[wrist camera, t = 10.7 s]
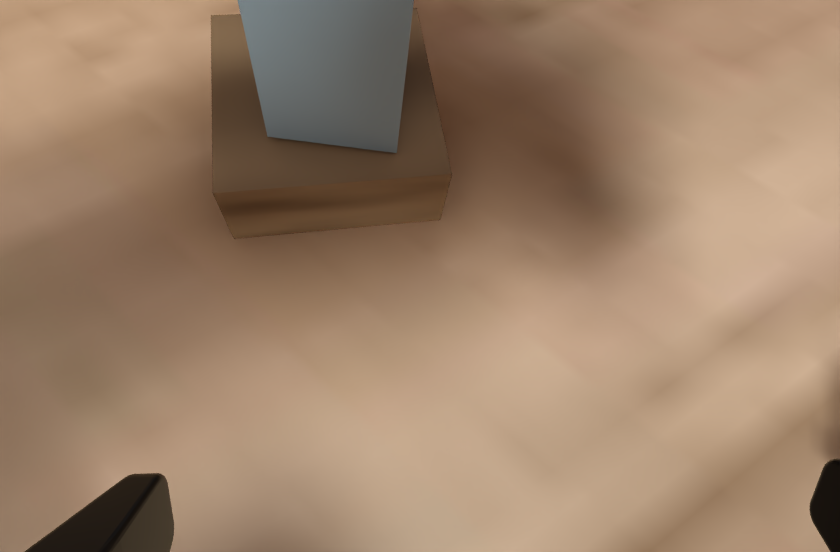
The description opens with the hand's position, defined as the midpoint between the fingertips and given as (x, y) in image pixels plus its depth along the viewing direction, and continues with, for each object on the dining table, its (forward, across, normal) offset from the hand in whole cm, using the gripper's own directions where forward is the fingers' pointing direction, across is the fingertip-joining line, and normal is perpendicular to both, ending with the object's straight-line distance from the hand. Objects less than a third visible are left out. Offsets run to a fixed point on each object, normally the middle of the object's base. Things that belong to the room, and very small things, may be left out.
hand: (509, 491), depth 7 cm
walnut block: (+21, +4, -1) cm, 21 cm away
